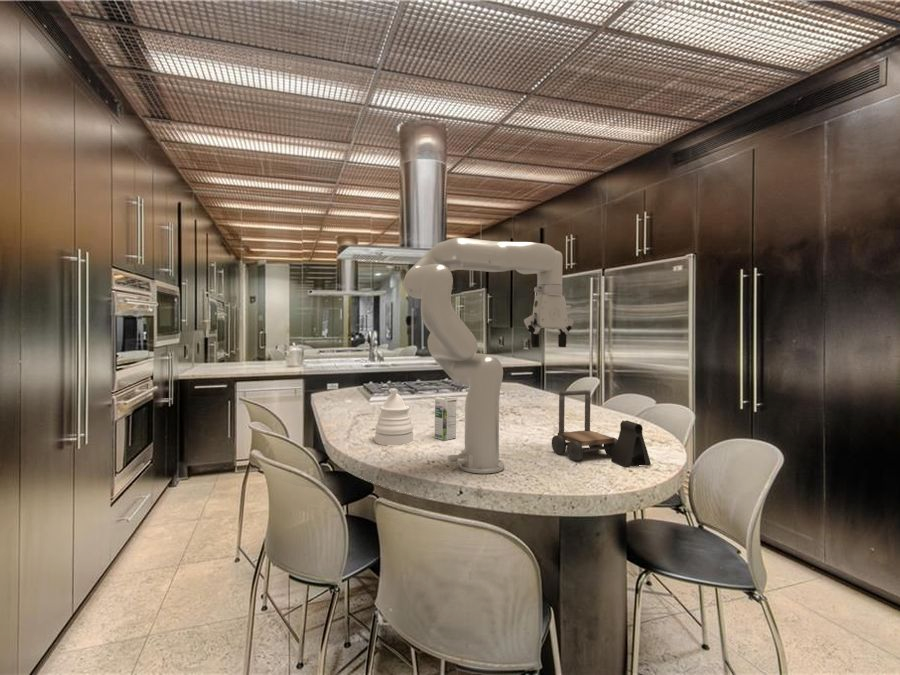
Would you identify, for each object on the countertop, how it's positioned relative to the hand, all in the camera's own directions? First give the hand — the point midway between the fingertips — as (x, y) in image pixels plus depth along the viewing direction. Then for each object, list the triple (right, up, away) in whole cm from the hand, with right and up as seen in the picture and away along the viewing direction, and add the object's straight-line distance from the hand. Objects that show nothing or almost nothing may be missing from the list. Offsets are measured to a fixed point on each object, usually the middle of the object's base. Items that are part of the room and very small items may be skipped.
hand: (548, 347), depth 142 cm
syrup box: (-32, -33, +21) cm, 51 cm away
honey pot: (-50, -33, +16) cm, 62 cm away
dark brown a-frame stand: (+22, -34, -8) cm, 41 cm away
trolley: (+11, -33, +1) cm, 35 cm away
